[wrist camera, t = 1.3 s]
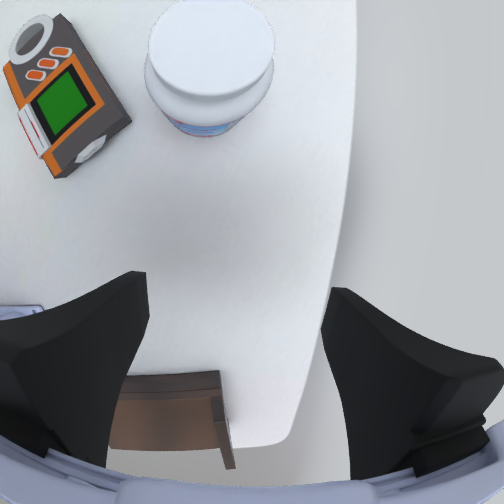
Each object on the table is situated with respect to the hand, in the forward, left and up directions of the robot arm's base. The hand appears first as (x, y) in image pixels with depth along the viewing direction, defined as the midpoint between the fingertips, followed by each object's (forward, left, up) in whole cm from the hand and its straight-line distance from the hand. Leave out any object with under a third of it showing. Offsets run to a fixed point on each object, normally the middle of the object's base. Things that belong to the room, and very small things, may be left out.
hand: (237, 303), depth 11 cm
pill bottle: (0, +10, -12) cm, 15 cm away
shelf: (-8, -18, -12) cm, 23 cm away
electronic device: (-12, +13, -12) cm, 22 cm away
